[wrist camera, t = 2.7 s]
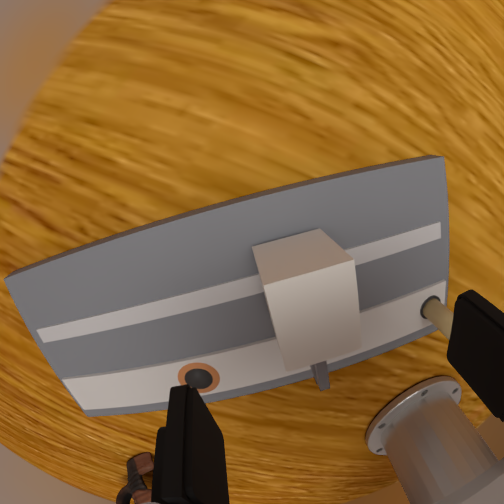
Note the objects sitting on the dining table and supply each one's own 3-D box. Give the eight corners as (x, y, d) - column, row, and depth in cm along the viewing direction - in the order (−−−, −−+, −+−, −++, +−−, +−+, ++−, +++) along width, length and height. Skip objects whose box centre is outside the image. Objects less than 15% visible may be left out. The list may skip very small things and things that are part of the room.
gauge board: (435, 318, 23) (472, 354, 18) (91, 405, 23) (75, 452, 18) (431, 154, 18) (487, 163, 13) (13, 271, 18) (-29, 306, 13)
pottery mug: (163, 437, 26) (200, 506, 20) (202, 447, 33) (235, 500, 27) (87, 474, 24) (112, 536, 18) (134, 481, 31) (159, 531, 25)
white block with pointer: (337, 347, 20) (363, 395, 16) (282, 364, 20) (297, 417, 16) (319, 228, 17) (354, 259, 13) (251, 246, 17) (263, 285, 13)
